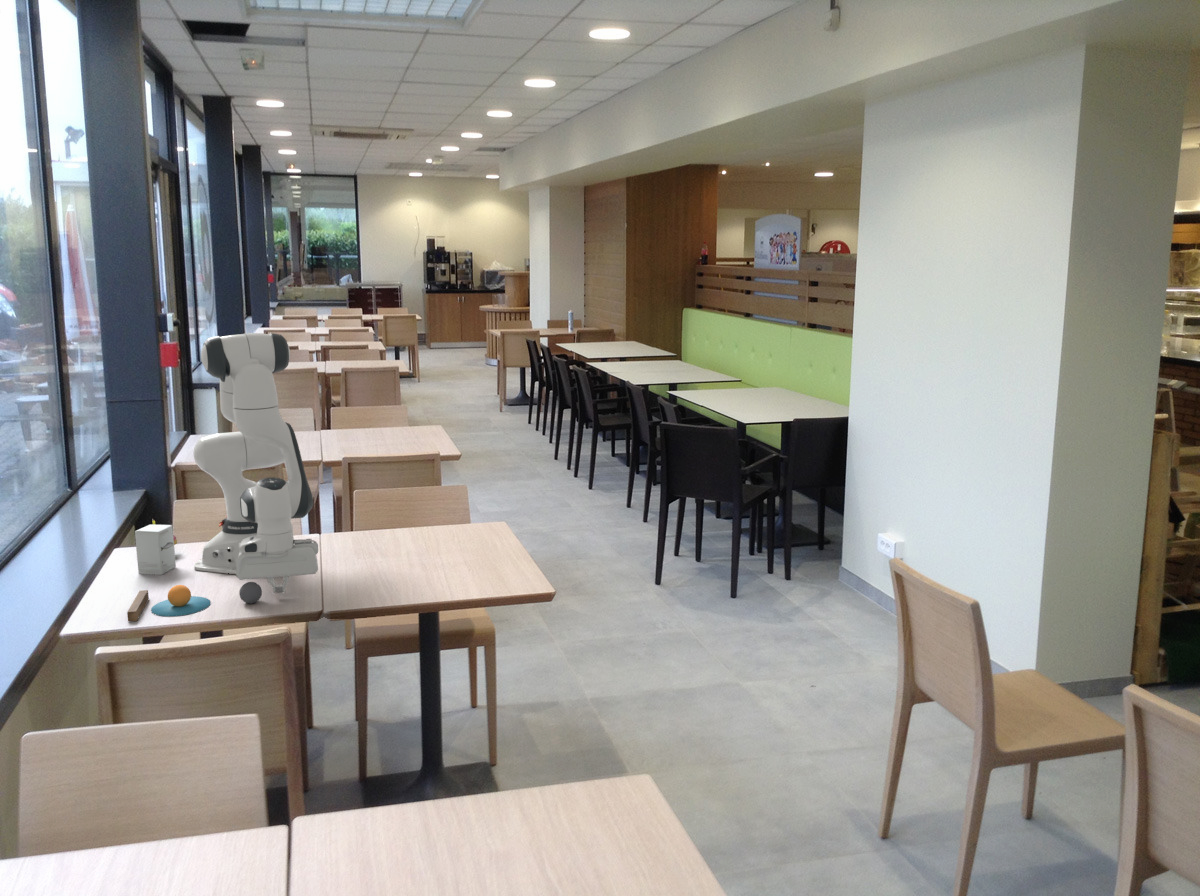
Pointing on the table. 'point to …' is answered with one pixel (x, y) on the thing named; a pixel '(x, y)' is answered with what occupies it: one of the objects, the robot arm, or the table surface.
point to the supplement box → (155, 549)
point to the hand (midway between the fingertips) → (279, 592)
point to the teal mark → (181, 607)
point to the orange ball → (179, 595)
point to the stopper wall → (138, 605)
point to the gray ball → (250, 592)
